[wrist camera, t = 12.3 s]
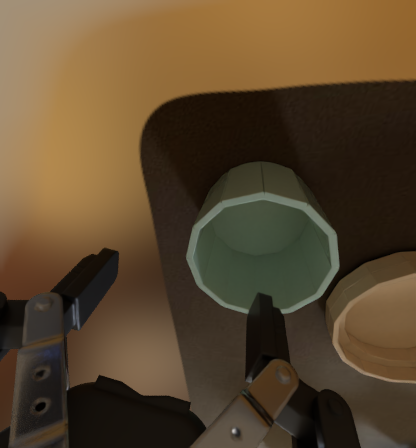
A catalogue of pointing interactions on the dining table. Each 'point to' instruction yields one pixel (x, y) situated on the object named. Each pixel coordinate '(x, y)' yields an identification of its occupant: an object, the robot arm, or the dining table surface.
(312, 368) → the dining table surface
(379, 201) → the dining table surface
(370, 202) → the dining table surface
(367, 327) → the bottom bowl
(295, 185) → the top bowl
